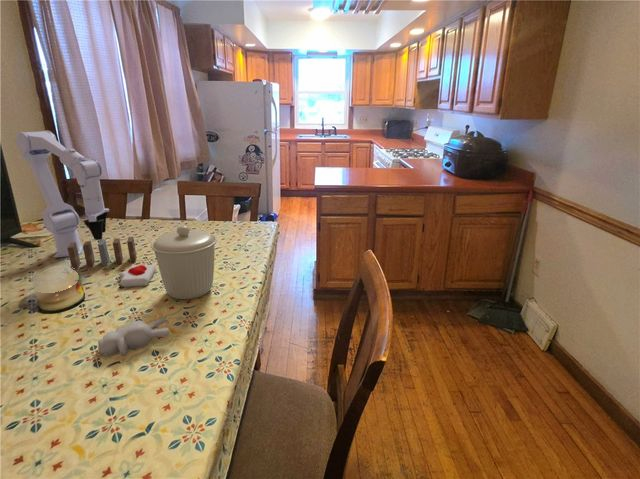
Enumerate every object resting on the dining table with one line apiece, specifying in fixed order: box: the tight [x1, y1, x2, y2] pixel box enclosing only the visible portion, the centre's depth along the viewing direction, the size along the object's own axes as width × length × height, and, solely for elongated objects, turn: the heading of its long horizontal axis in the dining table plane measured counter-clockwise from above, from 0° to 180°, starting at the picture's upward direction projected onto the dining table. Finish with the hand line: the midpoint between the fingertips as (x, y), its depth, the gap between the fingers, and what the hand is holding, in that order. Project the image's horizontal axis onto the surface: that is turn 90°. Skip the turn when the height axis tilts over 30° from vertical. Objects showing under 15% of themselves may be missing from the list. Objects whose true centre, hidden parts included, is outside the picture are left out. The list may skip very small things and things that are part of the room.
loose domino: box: [97, 239, 110, 267], centre depth 133 cm, size 2×5×8 cm, turn 20°
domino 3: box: [112, 237, 124, 265], centre depth 135 cm, size 2×5×8 cm, turn 21°
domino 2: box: [82, 240, 96, 269], centre depth 132 cm, size 2×5×8 cm, turn 21°
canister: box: [150, 224, 218, 301], centre depth 112 cm, size 18×18×21 cm
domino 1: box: [67, 242, 81, 270], centre depth 130 cm, size 2×5×8 cm, turn 21°
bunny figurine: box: [97, 316, 171, 357], centre depth 90 cm, size 10×5×15 cm
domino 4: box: [126, 236, 137, 264], centre depth 136 cm, size 2×5×8 cm, turn 20°
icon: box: [119, 264, 156, 288], centre depth 123 cm, size 12×4×10 cm
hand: (100, 235), depth 131 cm, fingers open, 7 cm apart
